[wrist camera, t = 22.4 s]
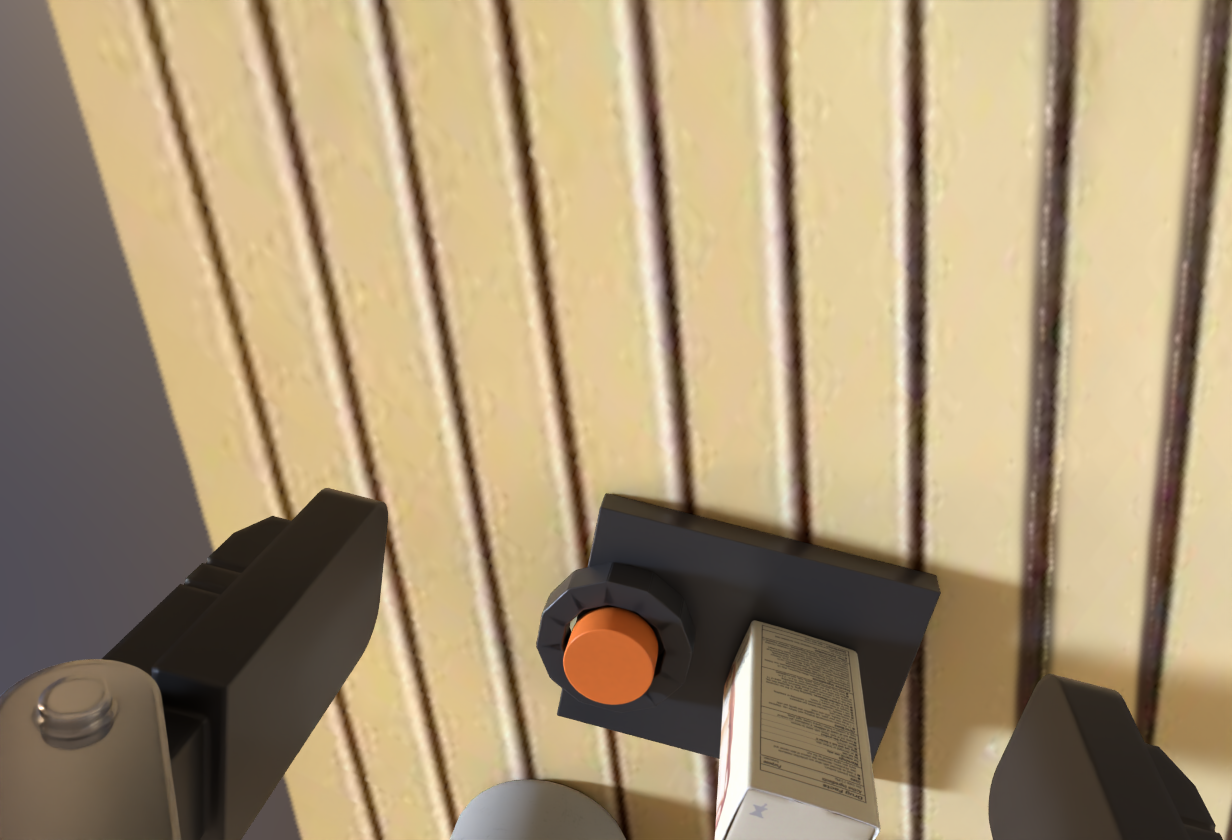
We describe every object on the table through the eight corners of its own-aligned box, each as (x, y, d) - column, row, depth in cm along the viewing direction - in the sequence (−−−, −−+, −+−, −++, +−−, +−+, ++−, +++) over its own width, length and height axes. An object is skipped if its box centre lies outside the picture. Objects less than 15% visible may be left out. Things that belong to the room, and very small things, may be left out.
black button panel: (534, 689, 48) (519, 730, 46) (574, 484, 43) (560, 516, 41) (857, 775, 47) (861, 822, 44) (936, 575, 42) (947, 614, 39)
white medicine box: (721, 687, 45) (703, 863, 36) (752, 614, 43) (741, 780, 34) (828, 724, 44) (837, 910, 35) (864, 652, 43) (884, 829, 34)
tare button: (564, 667, 44) (556, 691, 43) (579, 596, 43) (570, 619, 41) (649, 689, 44) (643, 715, 42) (666, 619, 42) (662, 643, 41)
